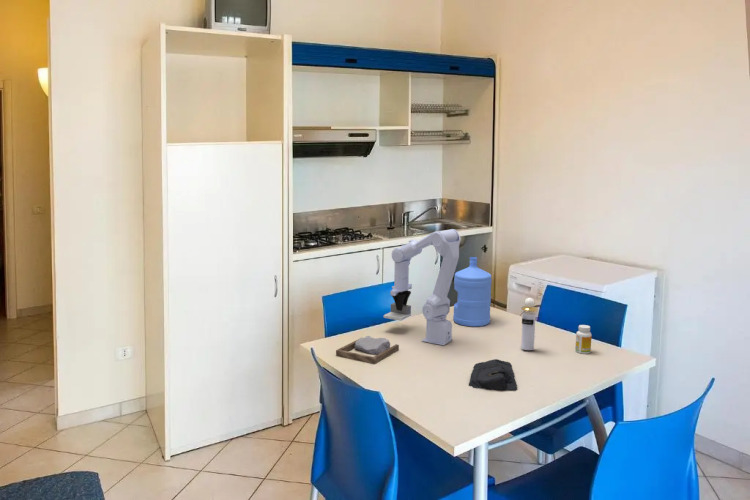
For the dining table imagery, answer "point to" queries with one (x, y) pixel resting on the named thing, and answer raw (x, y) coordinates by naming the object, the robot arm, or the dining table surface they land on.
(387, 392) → the dining table surface
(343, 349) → the dock
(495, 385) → the crumpled black cloth
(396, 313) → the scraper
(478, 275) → the water jug
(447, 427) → the dining table surface
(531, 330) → the perfume bottle
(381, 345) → the stone block
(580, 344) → the supplement bottle
